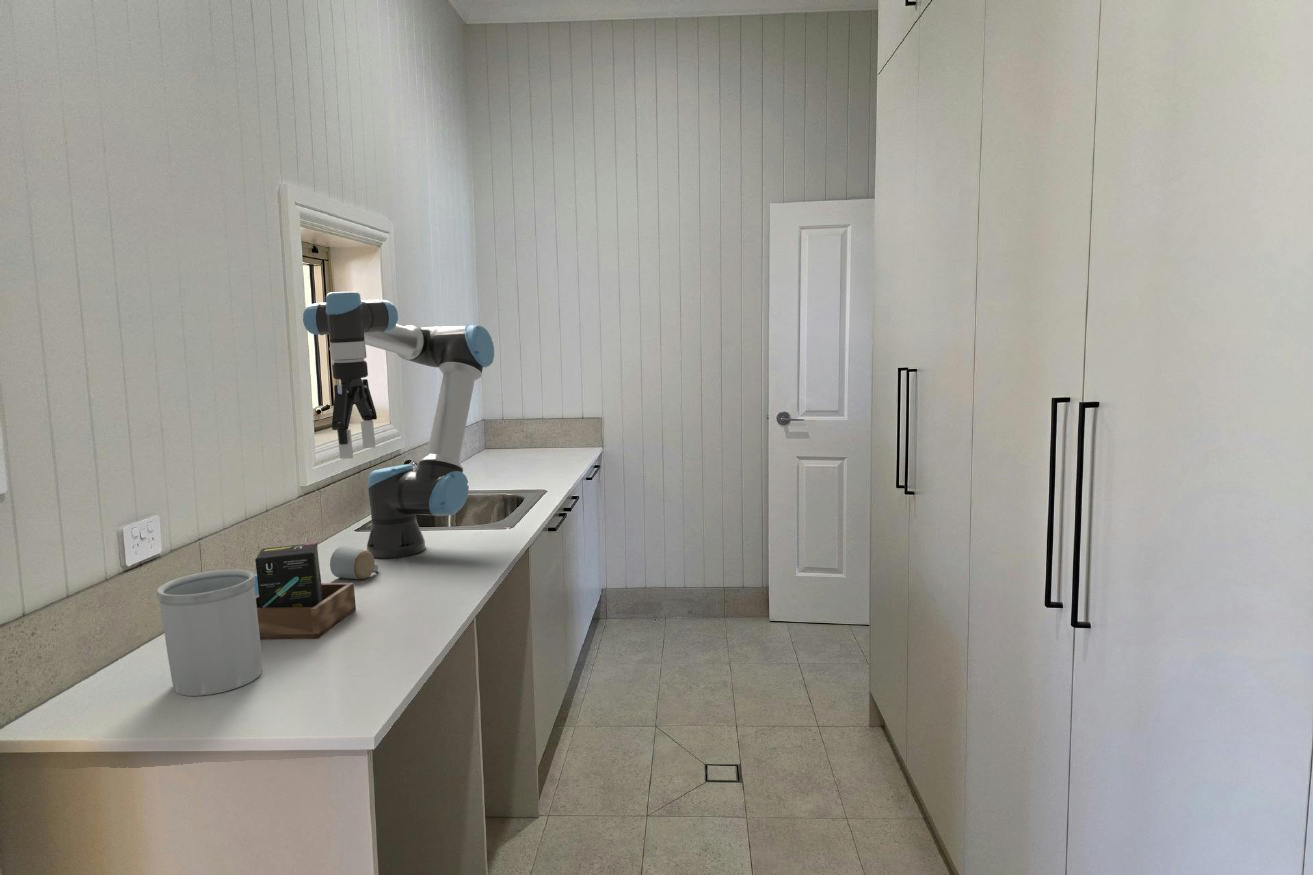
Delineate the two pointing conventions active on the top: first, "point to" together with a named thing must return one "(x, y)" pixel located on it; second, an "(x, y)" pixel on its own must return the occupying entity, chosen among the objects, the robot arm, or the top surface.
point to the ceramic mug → (352, 563)
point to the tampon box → (289, 576)
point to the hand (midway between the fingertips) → (358, 452)
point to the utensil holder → (211, 631)
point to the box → (308, 615)
